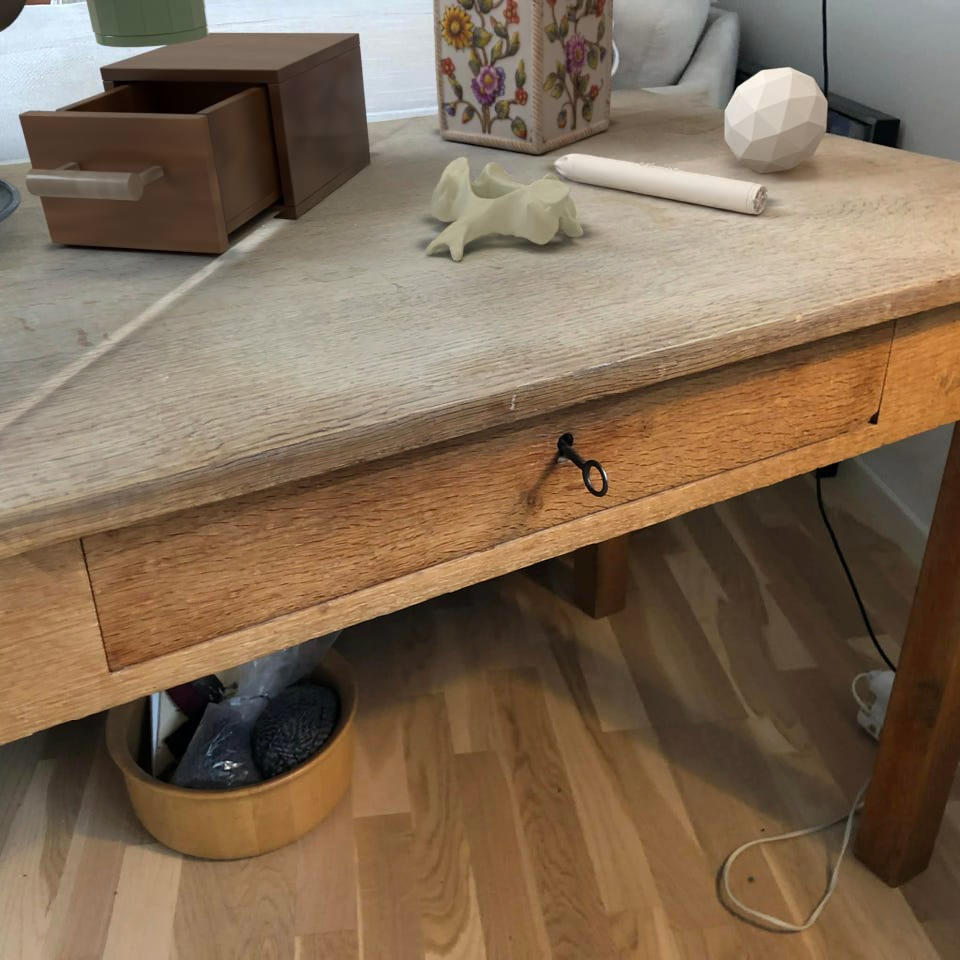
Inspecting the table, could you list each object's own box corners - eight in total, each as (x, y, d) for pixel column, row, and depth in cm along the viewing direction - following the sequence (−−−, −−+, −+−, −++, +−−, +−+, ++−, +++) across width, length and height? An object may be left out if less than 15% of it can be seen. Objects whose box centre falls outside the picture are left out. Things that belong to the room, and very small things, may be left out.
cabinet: (297, 219, 74) (277, 69, 69) (130, 210, 78) (98, 67, 72) (371, 162, 87) (359, 32, 82) (225, 157, 91) (204, 32, 85)
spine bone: (381, 264, 71) (366, 200, 67) (471, 199, 76) (462, 137, 72) (517, 310, 64) (508, 241, 61) (606, 236, 69) (602, 169, 66)
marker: (545, 179, 81) (545, 149, 80) (561, 173, 82) (561, 143, 81) (751, 218, 71) (755, 184, 70) (765, 211, 72) (769, 177, 71)
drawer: (188, 278, 62) (160, 136, 57) (10, 266, 65) (-29, 130, 60) (310, 189, 77) (295, 72, 73) (162, 183, 80) (140, 70, 76)
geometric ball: (766, 211, 81) (747, 142, 74) (718, 153, 85) (696, 84, 79) (853, 157, 80) (841, 82, 73) (800, 102, 84) (784, 26, 78)
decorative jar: (538, 157, 87) (537, -83, 77) (435, 140, 93) (422, -84, 84) (614, 129, 94) (621, -93, 85) (514, 115, 101) (510, -93, 91)
